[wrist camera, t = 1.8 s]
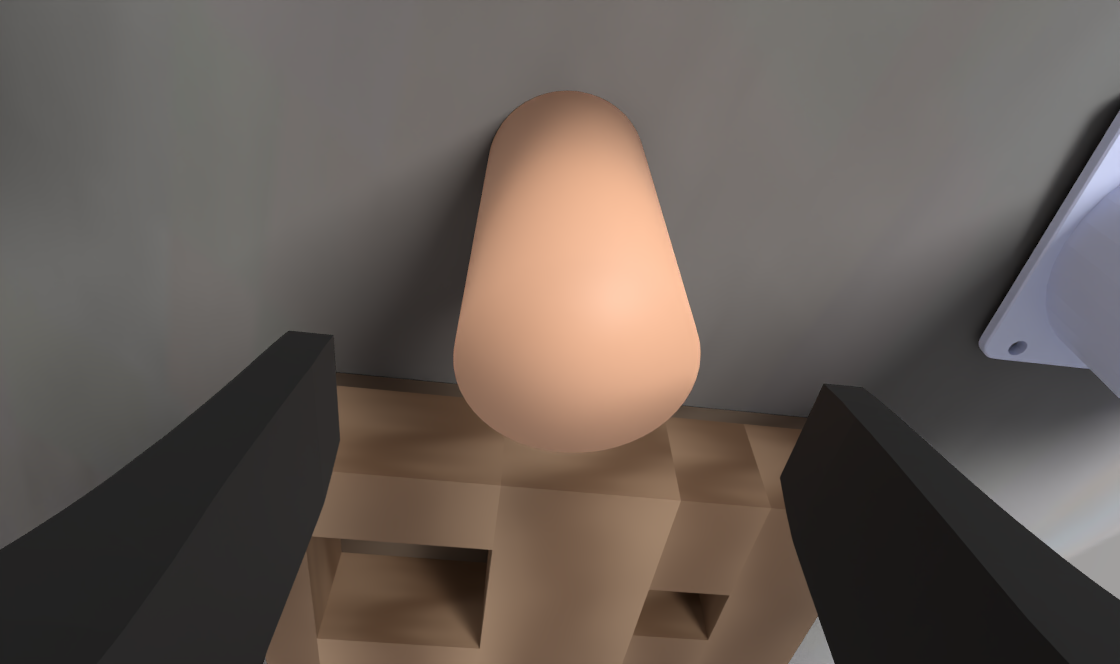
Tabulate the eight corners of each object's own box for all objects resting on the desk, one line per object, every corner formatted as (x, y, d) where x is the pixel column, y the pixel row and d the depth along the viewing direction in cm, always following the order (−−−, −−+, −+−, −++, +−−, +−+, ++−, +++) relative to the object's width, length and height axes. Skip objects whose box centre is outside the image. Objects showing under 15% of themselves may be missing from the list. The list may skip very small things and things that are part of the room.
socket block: (832, 420, 23) (879, 517, 20) (738, 609, 29) (761, 706, 26) (274, 366, 21) (225, 462, 18) (302, 579, 28) (270, 678, 24)
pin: (660, 102, 17) (730, 274, 10) (628, 247, 19) (668, 461, 13) (494, 80, 16) (459, 244, 10) (482, 230, 19) (447, 442, 12)
